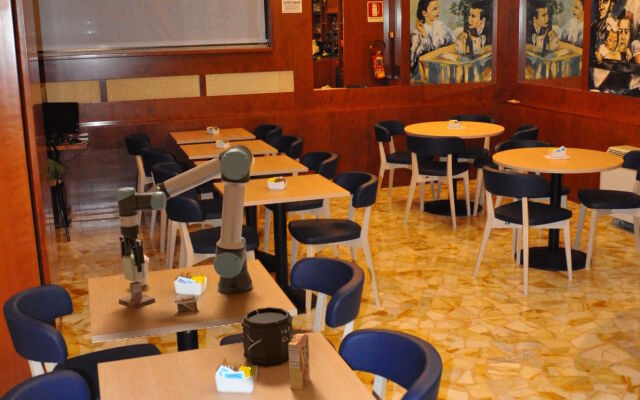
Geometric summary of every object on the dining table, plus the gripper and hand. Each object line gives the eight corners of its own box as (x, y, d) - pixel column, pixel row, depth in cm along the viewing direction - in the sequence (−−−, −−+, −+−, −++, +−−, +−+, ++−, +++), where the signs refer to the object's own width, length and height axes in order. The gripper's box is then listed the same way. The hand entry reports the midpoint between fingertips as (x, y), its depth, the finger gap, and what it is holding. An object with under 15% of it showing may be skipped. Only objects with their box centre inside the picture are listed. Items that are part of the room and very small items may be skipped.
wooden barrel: (246, 347, 285) (243, 306, 282) (296, 346, 284) (293, 305, 281) (238, 369, 268) (235, 325, 264) (291, 368, 267) (289, 324, 263)
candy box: (298, 376, 260) (296, 333, 257) (310, 378, 259) (308, 334, 255) (289, 389, 252) (287, 344, 248) (302, 390, 251) (300, 345, 247)
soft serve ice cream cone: (138, 288, 354) (135, 254, 350) (129, 284, 360) (125, 250, 356) (154, 284, 359) (151, 250, 356) (145, 280, 365) (142, 246, 362)
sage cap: (144, 277, 335) (142, 255, 333) (132, 281, 331) (130, 259, 328) (136, 275, 339) (134, 253, 337) (124, 278, 335) (122, 256, 332)
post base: (155, 301, 337) (153, 282, 335) (135, 308, 329) (133, 289, 328) (138, 295, 345) (136, 277, 343) (119, 302, 337) (117, 283, 336)
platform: (212, 312, 322) (211, 297, 320) (168, 320, 316) (167, 304, 314) (206, 303, 333) (205, 288, 331) (163, 310, 327) (162, 295, 325)
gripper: (108, 223, 333) (114, 275, 338) (134, 230, 320) (140, 284, 326) (124, 219, 338) (129, 271, 344) (150, 226, 326) (155, 279, 331)
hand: (134, 277), depth 335 cm, fingers closed on sage cap, 6 cm apart
